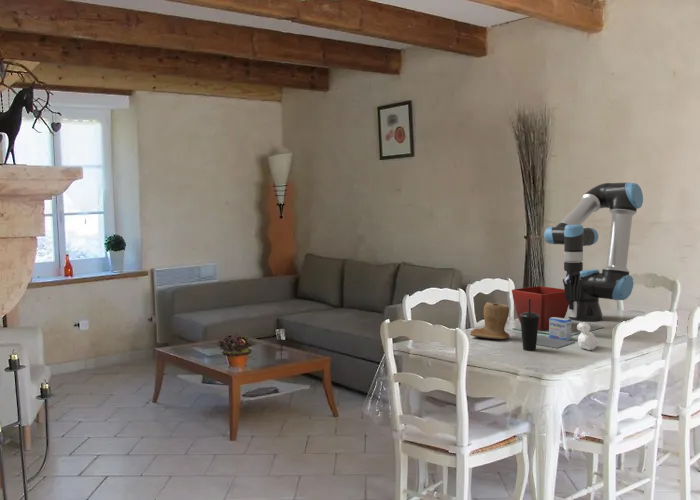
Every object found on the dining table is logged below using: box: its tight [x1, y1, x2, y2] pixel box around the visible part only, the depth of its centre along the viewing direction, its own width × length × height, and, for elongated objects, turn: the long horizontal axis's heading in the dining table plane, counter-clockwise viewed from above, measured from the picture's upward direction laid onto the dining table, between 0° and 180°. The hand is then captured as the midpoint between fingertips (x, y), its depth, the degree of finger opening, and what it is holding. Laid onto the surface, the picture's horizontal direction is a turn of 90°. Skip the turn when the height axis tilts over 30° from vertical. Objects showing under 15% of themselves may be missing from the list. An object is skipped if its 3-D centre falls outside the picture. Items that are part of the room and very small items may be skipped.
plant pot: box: [511, 285, 569, 331], centre depth 310 cm, size 19×19×17 cm
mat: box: [536, 335, 576, 349], centre depth 280 cm, size 13×16×1 cm
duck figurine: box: [576, 321, 598, 351], centre depth 269 cm, size 12×8×11 cm
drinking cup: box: [519, 299, 540, 352], centre depth 268 cm, size 8×8×20 cm
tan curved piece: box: [469, 302, 510, 340], centre depth 290 cm, size 15×12×15 cm
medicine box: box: [548, 317, 572, 341], centre depth 286 cm, size 8×4×9 cm, turn 45°
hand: (572, 316), depth 292 cm, fingers closed
